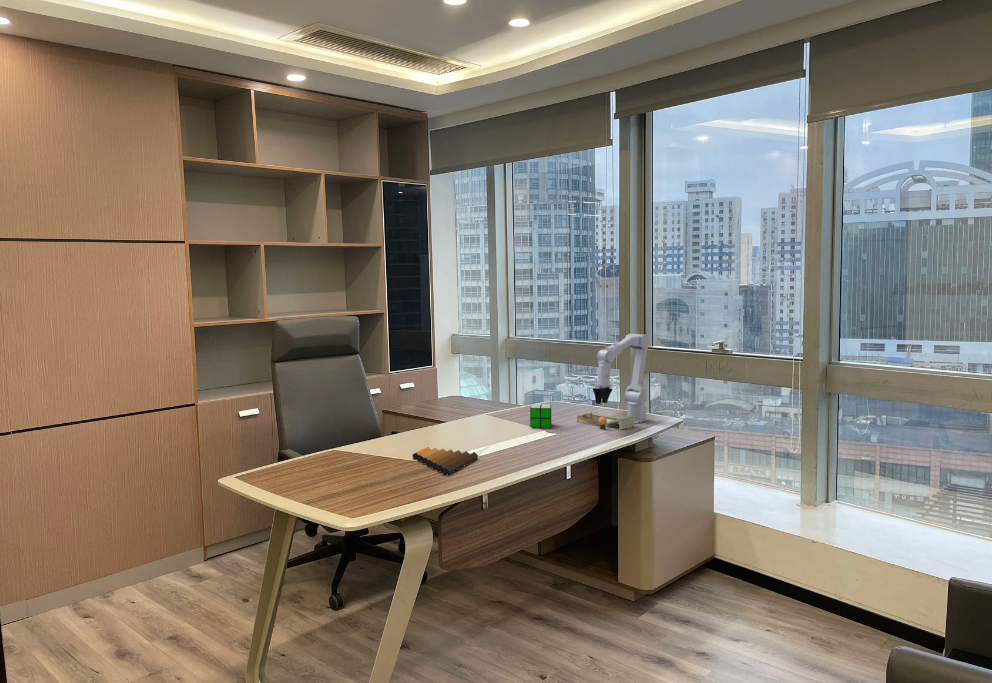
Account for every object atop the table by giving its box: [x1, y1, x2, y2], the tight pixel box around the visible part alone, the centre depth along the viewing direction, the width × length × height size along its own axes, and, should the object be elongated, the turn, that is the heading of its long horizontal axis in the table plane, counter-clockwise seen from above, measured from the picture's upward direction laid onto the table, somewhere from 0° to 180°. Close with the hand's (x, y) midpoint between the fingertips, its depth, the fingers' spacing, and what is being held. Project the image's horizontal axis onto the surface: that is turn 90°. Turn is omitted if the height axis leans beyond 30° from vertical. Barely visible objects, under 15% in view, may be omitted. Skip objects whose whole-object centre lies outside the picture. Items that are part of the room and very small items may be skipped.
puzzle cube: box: [529, 403, 552, 429], centre depth 345 cm, size 10×10×10 cm
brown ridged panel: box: [411, 446, 479, 475], centre depth 278 cm, size 25×3×25 cm
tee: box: [599, 425, 607, 430], centre depth 338 cm, size 3×3×2 cm
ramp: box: [605, 415, 635, 430], centre depth 344 cm, size 10×16×6 cm, turn 46°
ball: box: [598, 417, 607, 425], centre depth 338 cm, size 4×4×4 cm
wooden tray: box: [576, 411, 618, 427], centre depth 352 cm, size 11×16×4 cm
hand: (601, 403), depth 336 cm, fingers open, 7 cm apart
